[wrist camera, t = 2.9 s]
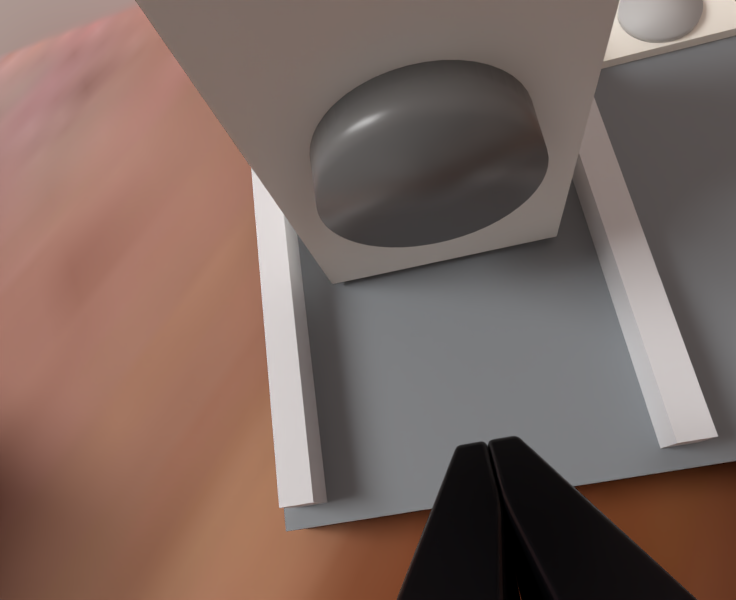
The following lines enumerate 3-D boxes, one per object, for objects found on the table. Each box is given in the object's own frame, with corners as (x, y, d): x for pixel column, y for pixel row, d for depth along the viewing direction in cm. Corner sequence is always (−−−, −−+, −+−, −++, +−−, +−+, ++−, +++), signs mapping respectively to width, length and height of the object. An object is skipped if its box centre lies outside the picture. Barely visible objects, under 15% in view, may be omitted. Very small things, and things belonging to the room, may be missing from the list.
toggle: (567, 271, 14) (719, -163, 5) (337, 318, 15) (98, 19, 6) (510, 84, 16) (543, -459, 7) (312, 134, 17) (110, -299, 8)
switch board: (921, 432, 13) (1023, 415, 11) (304, 528, 15) (268, 533, 13) (663, -88, 20) (688, -174, 17) (256, 25, 22) (226, -37, 19)
